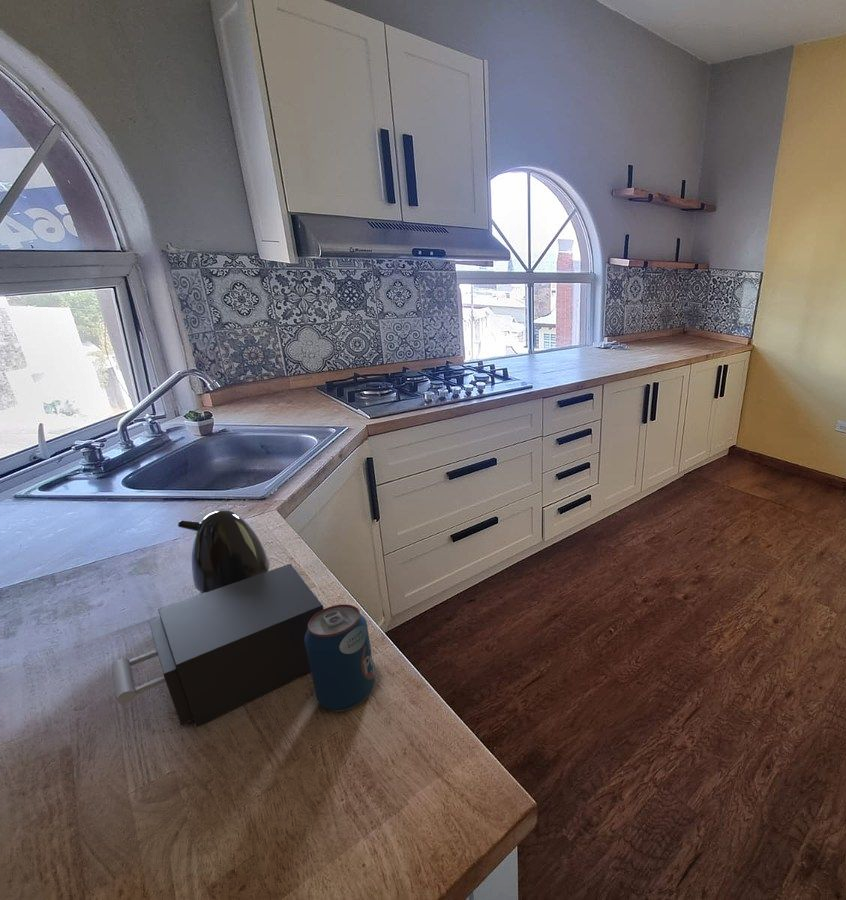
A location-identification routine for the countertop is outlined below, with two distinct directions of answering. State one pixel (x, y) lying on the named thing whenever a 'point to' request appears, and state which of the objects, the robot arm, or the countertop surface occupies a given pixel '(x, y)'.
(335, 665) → the soda can
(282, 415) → the countertop surface
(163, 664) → the drawer
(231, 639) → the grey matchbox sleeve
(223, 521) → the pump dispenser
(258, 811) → the countertop surface
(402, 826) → the countertop surface
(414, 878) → the countertop surface
